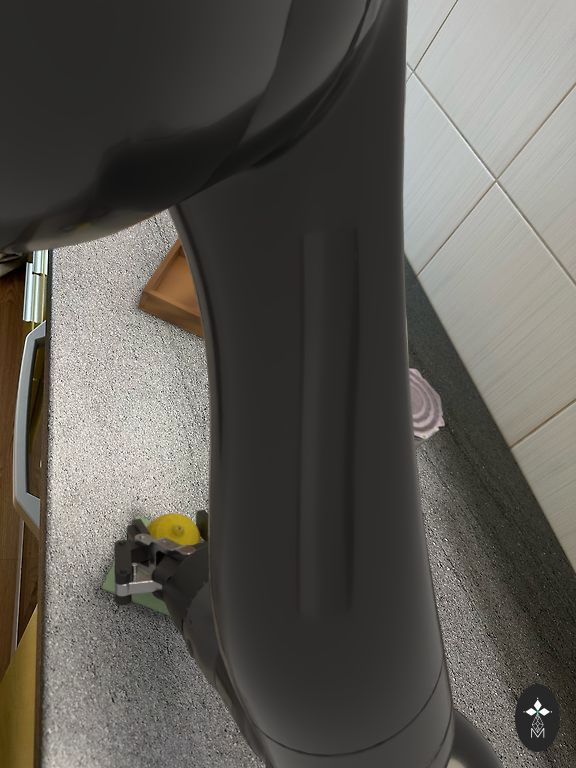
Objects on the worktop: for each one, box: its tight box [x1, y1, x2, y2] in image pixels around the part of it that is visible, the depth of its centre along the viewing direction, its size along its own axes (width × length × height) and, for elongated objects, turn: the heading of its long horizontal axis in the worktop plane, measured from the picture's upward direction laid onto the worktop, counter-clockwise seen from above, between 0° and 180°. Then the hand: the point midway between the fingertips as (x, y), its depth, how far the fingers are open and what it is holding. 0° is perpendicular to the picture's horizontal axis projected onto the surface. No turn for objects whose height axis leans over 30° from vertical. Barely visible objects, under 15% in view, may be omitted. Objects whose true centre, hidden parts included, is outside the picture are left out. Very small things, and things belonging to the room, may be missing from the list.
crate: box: [137, 236, 204, 340], centre depth 81 cm, size 14×14×4 cm
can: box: [409, 365, 446, 451], centre depth 73 cm, size 11×11×12 cm
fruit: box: [147, 512, 202, 545], centre depth 53 cm, size 6×6×8 cm
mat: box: [101, 514, 171, 617], centre depth 58 cm, size 8×8×1 cm
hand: (168, 524), depth 53 cm, fingers closed on fruit, 5 cm apart
